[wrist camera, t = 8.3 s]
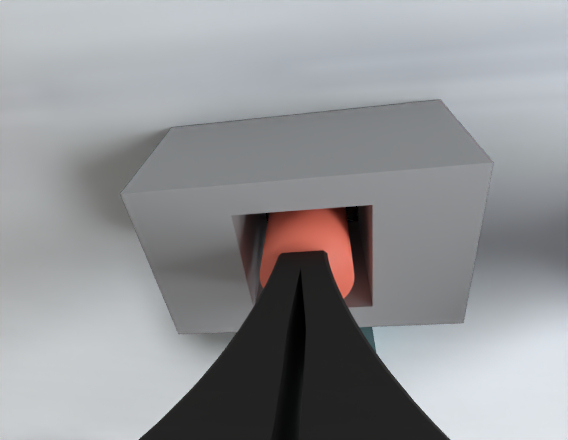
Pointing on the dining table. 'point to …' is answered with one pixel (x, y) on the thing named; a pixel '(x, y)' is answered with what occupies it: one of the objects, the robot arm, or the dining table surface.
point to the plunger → (310, 241)
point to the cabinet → (315, 195)
